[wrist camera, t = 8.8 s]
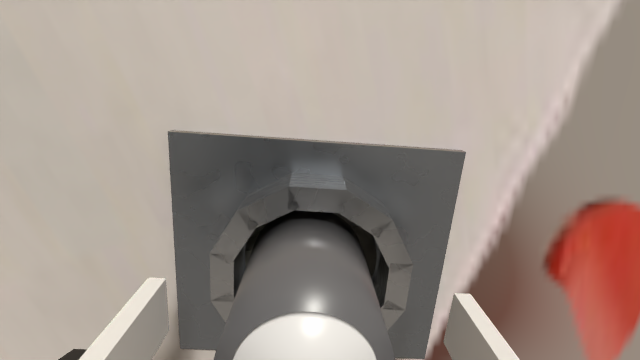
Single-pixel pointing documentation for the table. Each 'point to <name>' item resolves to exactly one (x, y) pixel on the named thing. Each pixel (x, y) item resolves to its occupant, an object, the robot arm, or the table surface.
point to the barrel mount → (310, 195)
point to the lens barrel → (306, 296)
